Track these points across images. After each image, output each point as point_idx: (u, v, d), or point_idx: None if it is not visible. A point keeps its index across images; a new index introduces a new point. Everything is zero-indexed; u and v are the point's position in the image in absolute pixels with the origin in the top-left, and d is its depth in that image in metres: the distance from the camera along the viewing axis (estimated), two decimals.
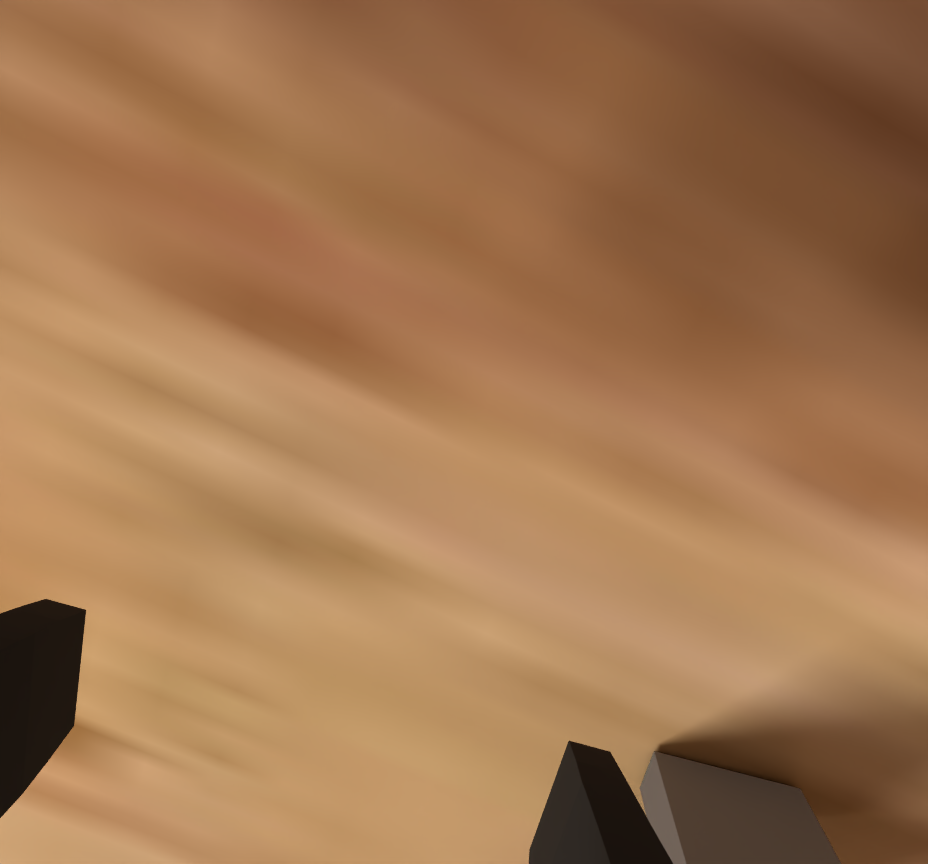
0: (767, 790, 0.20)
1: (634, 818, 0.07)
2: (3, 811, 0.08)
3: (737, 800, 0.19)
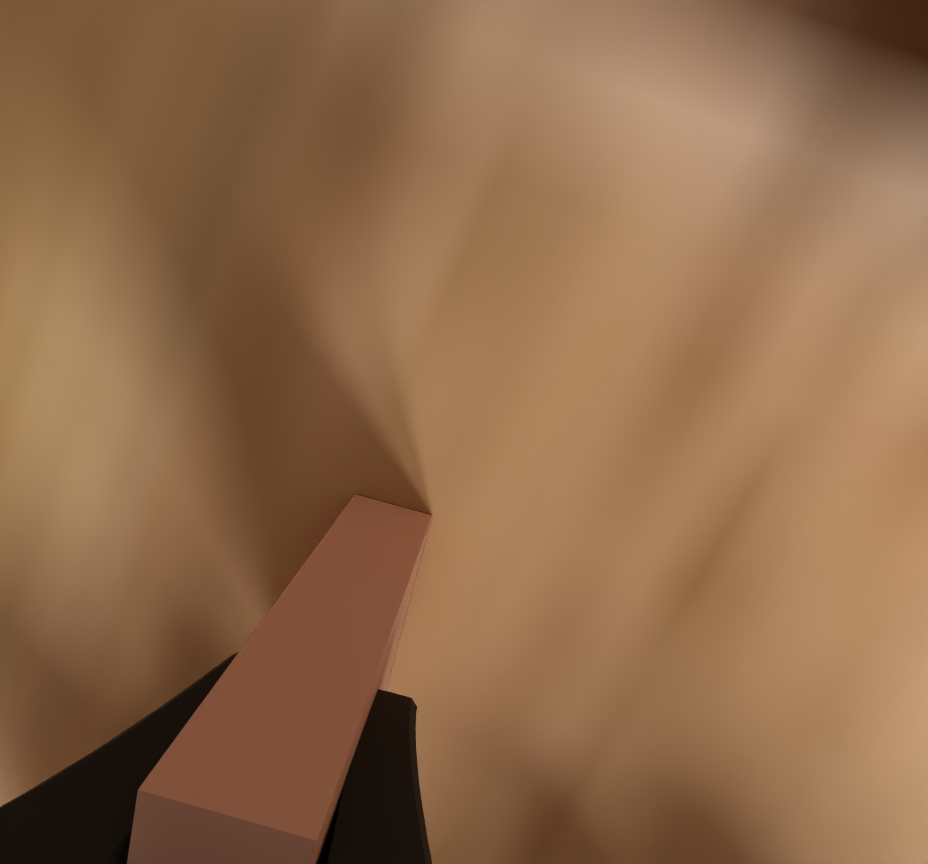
0: None
1: (395, 753, 0.07)
2: None
3: None
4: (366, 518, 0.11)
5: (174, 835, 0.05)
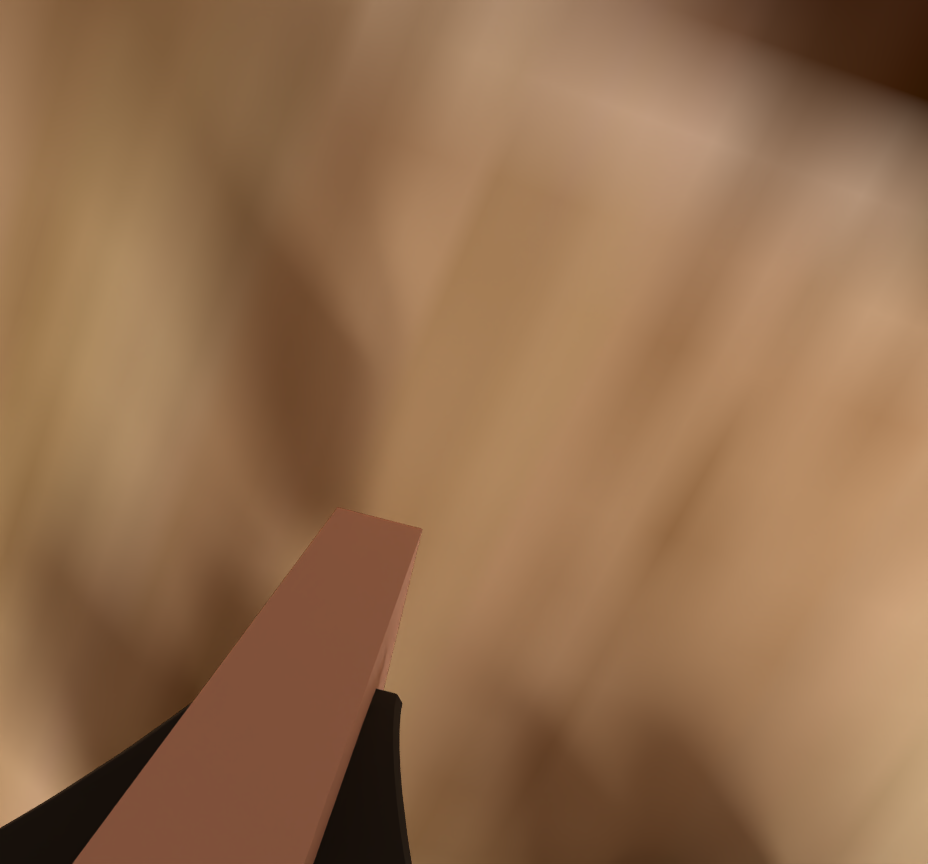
0: None
1: (378, 748, 0.07)
2: None
3: None
4: (349, 534, 0.10)
5: None
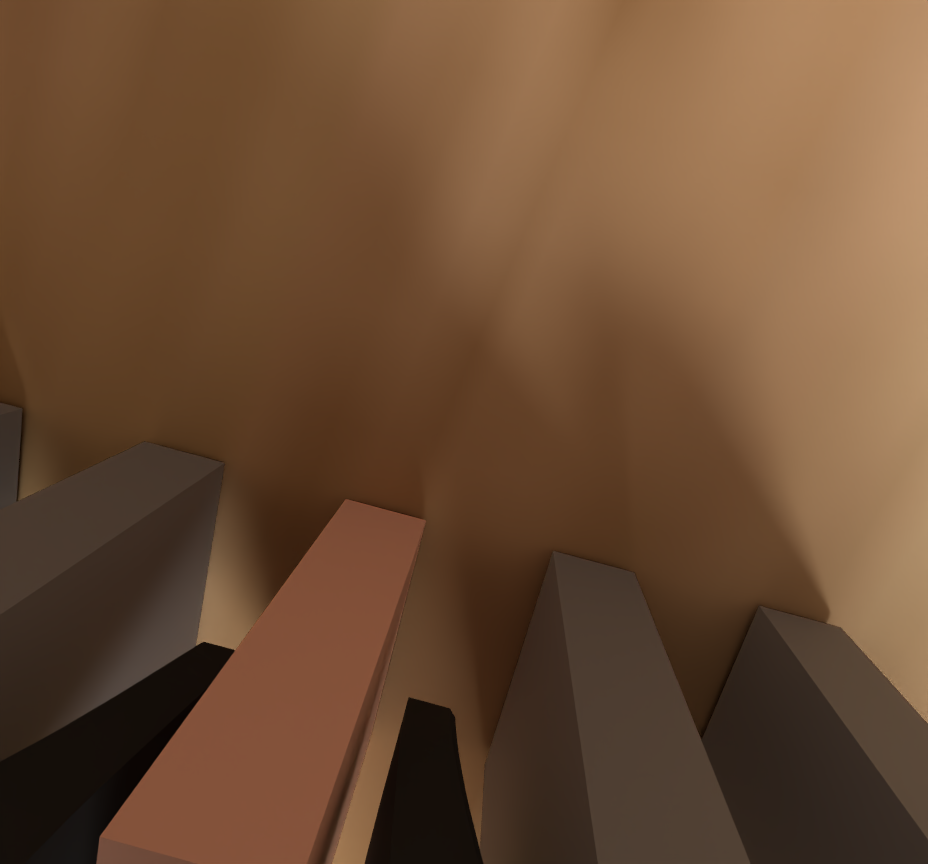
0: None
1: (441, 766, 0.07)
2: None
3: None
4: (357, 524, 0.11)
5: None
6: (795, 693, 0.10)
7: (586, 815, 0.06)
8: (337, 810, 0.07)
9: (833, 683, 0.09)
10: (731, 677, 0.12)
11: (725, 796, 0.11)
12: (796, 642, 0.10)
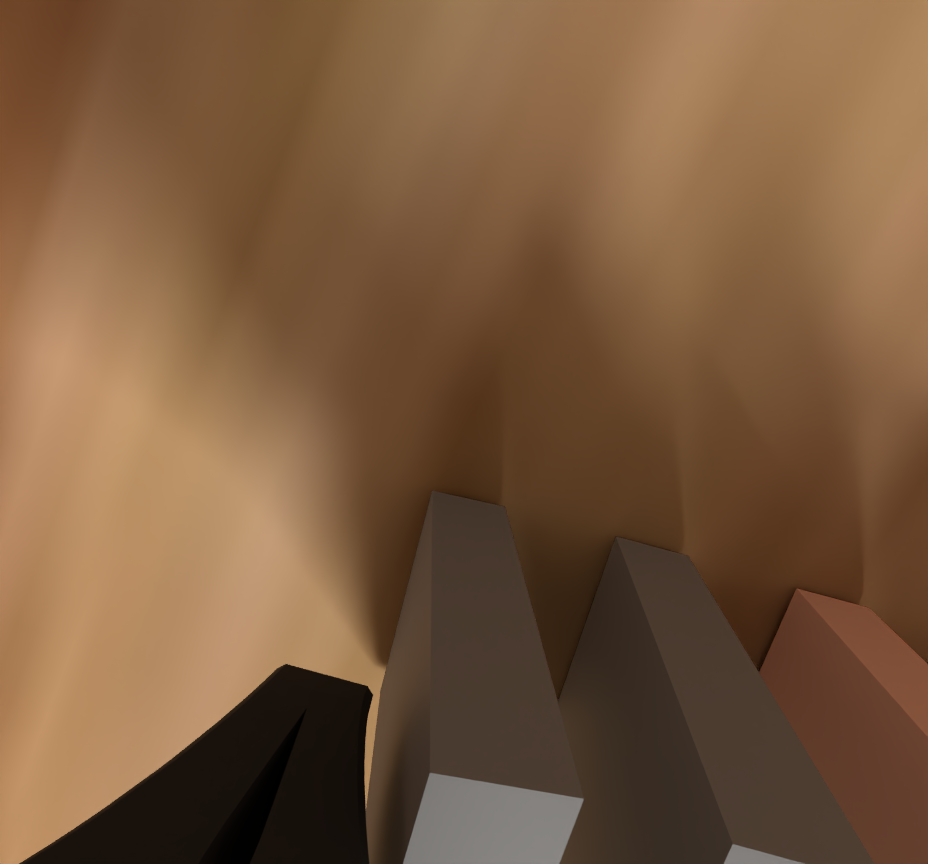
0: (416, 558, 0.12)
1: (342, 739, 0.07)
2: None
3: (401, 634, 0.12)
4: (839, 617, 0.12)
5: None
6: None
7: None
8: None
9: None
10: None
11: None
12: None
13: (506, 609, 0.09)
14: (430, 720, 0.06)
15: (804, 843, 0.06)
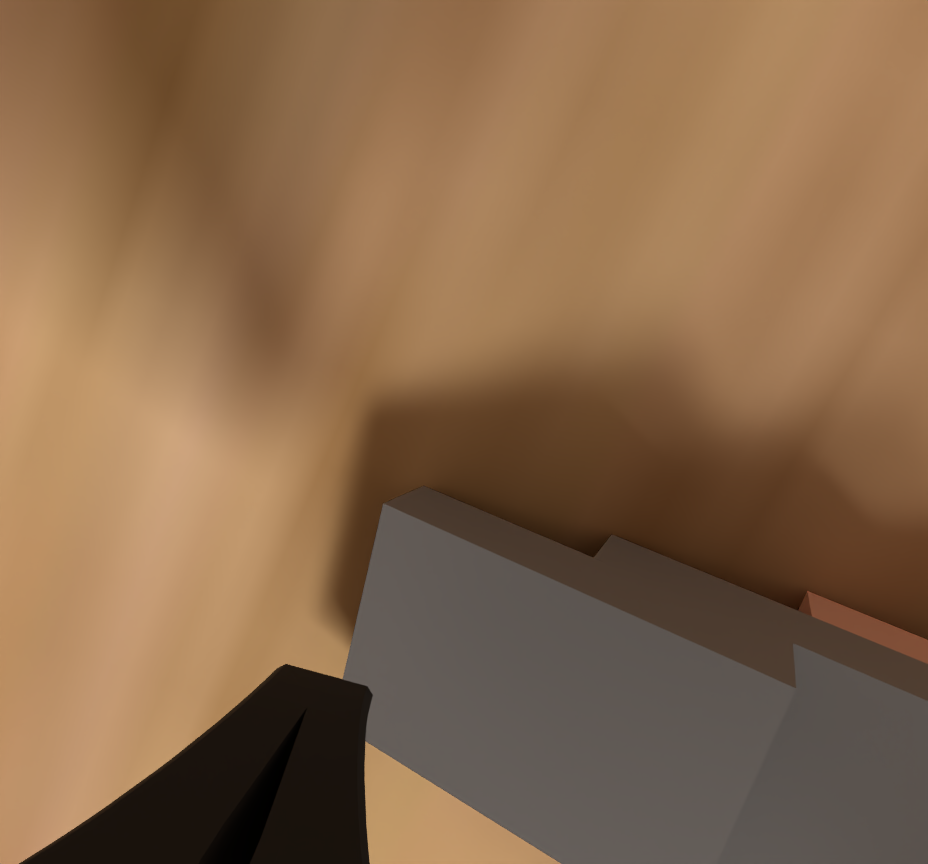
0: (390, 575, 0.12)
1: (342, 739, 0.07)
2: None
3: (410, 652, 0.12)
4: (862, 632, 0.11)
5: None
6: None
7: None
8: None
9: None
10: None
11: None
12: None
13: (603, 571, 0.11)
14: (744, 666, 0.09)
15: None
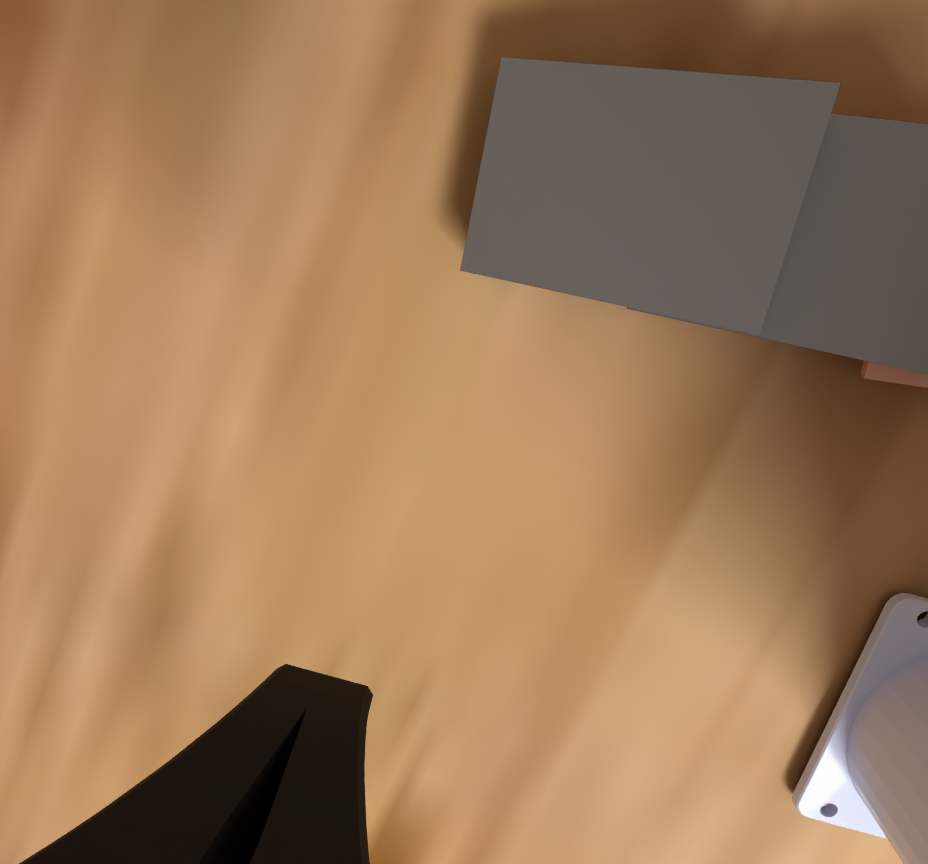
0: (508, 118, 0.15)
1: (342, 739, 0.07)
2: None
3: (526, 180, 0.15)
4: None
5: None
6: None
7: None
8: None
9: None
10: None
11: None
12: None
13: None
14: (800, 80, 0.12)
15: None
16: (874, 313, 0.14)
